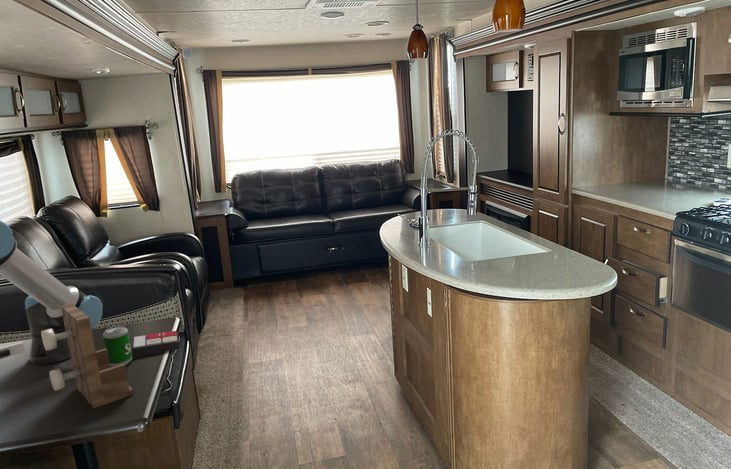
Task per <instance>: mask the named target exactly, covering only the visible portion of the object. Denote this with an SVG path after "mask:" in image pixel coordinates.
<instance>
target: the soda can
mask: <svg viewBox="0 0 731 469" xmlns="http://www.w3.org/2000/svg"><path fill="white" fill-rule="evenodd" d="M102 337H103V344H104V349H105V348H106V349H107V350H108V356H109V361H110V367H114V366H117V365H120V364H125V366H127V365H129V364H130V363H131V361H132V360H133V353H132V347H131V346H132V345H131V342H130V334H129V329H128V328H126V327H125V326H122V325H117V326H116V325H114V326H111V327H108V328H107V329H105V331H104V332H103V334H102Z"/></svg>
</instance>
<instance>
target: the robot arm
mask: <svg viewBox="0 0 731 469" xmlns="http://www.w3.org/2000/svg"><path fill="white" fill-rule="evenodd" d="M13 234H14V233H13V230H12V228H11V227H10V226H9V225H8V224H7V223H5V222H4V221H3V220H2V219H1V220H0V276H1V277H2V278H4V279H5V280H7V281H8V282H10V283H11V284H12V285H14V286H15V287H17V288H18V289H20V291H23V293H25V294H26V295H28V296H27V297H26V298H25V300H24V305H25V306H24V307H25V308H24V309H25V311H26V312H25V313H26V317H27V321H28V326H29V330H30V335H31V343H30V344H31V345H30V349H29V359H30V363H31V364H33V365H48V364H54V363H57V362H59V363H60V362H61V361H64V360H68V359H71V356H70V351H69V346H68V341H67V338H65V339H62V340H58V341H56V342H57V348H55V349H51V350H48V351H46V349H45V347H44V344H43V340H42V335H41V331H44V330H48V329H53V331H54V334H59V333H63V332H66V330H65V325H64V320H63V315H62V310H61V306H64V305H68V304H73V305H74V306H76V307H77V308H78V309H79V310H81V311H82V312H83V313H84V314H86V315H87V316H88V317H89V320H90V325H91V330H94V328H96V327H97V326H98V324H100V322H101V319H102V317H103V303H102V301H101V300H100V298H99V297H97V296H94V295H91V294H90V295H86V294H85V293H83V292H82V291H81V290H79V289H78V288H77V287H76V286H73V285H68V286H67V285H65V284H64V283H62V282H61V281H60V280H59V279H58V278H56V277H54V276H53V275H52V274H51V273H50V272H48V271H47V270H46V269H44V268H43V267H42V266H41V265H39V264H38V263H37V262H35V261H34V260H33V259H32V258H30V257H29V256H28V255H26V254H25V253H24V252H23V251H21V250H20V249H19V248H18V242H17V240H16V239H15V236H13ZM23 353H25V348H24V343H23V341H18V342H15V343H11V344H7V345H4V346H0V360H3V359H5V358H6V359H7V358H10V357H13V356H17V355H20V354H23Z"/></svg>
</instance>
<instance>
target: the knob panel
mask: <svg viewBox="0 0 731 469" xmlns="http://www.w3.org/2000/svg"><path fill="white" fill-rule="evenodd" d="M61 310H62V315H63V320H64V325H65V330H66V331H70V330H73V332H74V336H72V337H69V338H67V341H68V346H69V351H70V356H71V357H70V360H71V364H72V371H75V370H79V369H81V374H82V375H80V376H77V377H74V381H75V386H76V389H77V390H78V391H79V393H80V392H81V393H82V394H81V393H80V394H81V395H82V397H84V398H86V399H87V400H86V399H85V400H86V401H87V402H88V403H89V405H90V404H91V405H92V406H91V405H90V406H91V407H92V408H93V409H96V407H97V408H99V407H102V406H105V405H108V404H111V403H112V402H113V403H114V402H115V401H118V400H121V399H124V398H126V397H127V398H128V397H129V396H132V395H134V389H133V387H131V386H130V385H129V381H128V380H129V379H128V374H127V369H126V365H125V364H120V365H117V366H114V367H112V366H111V365H110V361H109V356H108V350H107V349H106V348H105V347H104V348H103V349H100V350H96V347H95V342H94V338H93V331H92V329H91V325H90V320H89V317H88V316H87V315H86V314H84V313H83V312H82V311H81V310H79V309H78V308H77V307H76V306H74V305H73V304H68V305H64V306H61ZM101 405H102V406H101ZM98 406H99V407H98Z"/></svg>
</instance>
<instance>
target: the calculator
mask: <svg viewBox="0 0 731 469" xmlns="http://www.w3.org/2000/svg"><path fill="white" fill-rule="evenodd" d="M131 346H132V347H131V352H132V359H133V358H140V357H145V356H148V355H155V354H160V353H165V352H171V351H175V350H180V341H179V333H178V331H176V330H172V331H171V330H170V331H164V332H157V333H156V332H155V333H149V334H146V335H139V336H134V337H132V345H131Z"/></svg>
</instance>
